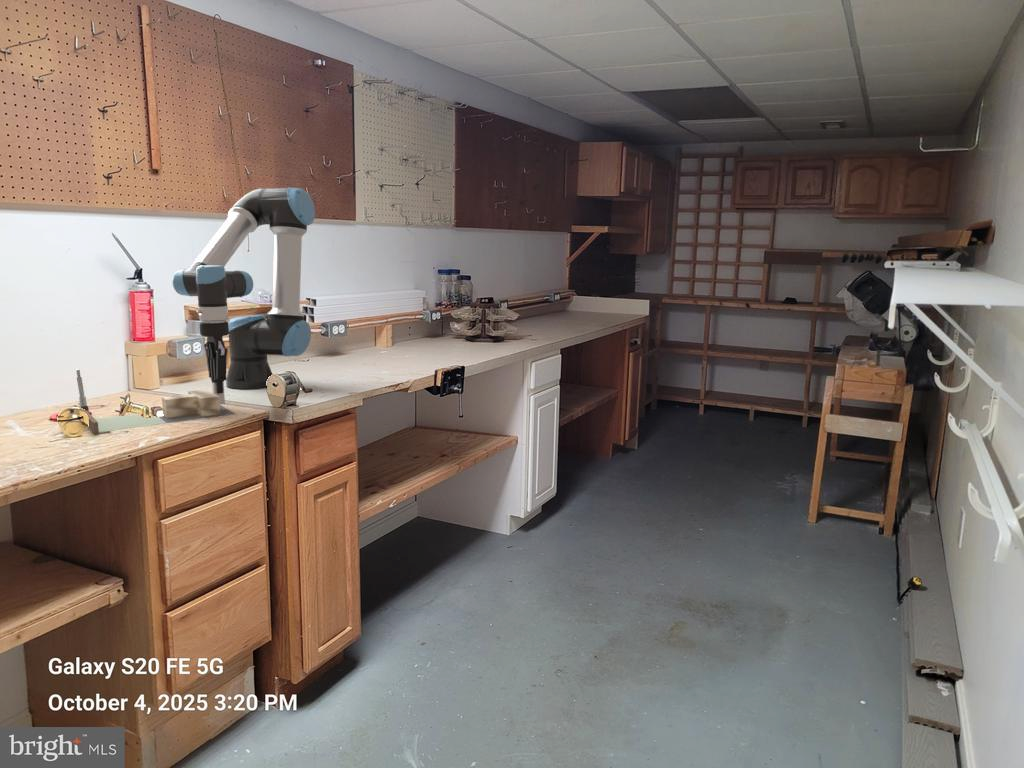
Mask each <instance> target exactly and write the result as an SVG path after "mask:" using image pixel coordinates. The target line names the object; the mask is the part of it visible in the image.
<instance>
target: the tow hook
mask: <svg viewBox="0 0 1024 768" xmlns="http://www.w3.org/2000/svg"><path fill="white" fill-rule="evenodd" d="M76 381H77V389H78V394H79V397H78V400H79V408H80V407H81V408H83V409H85V410H87V411H88V412H89V414H90V415H91V416H92V412H91V411H90V408H89V406H88V403H87V397H86V395H85V391H84V390H85V389H84V385H83V384H84V383H83V377H82V376H81V370H80V369H77V368H76ZM59 413H60V412H56V413H53V414H51V415H50V416H49V420H50V421H52V420H54V421H53V422H58V421H57V418H58V417H57V416H58V414H59Z"/></svg>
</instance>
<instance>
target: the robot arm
mask: <svg viewBox="0 0 1024 768" xmlns="http://www.w3.org/2000/svg"><path fill="white" fill-rule="evenodd" d="M315 217H316V211H315V205H314V202H313V199H312V197H311V195H310V193H308V191H306V189H304V188H300V187H292V186H289V187H259V188H256V189H254V190H252V191H249V192H247V193H246V194H245V195H243V196H242V197H241V198H240V199H239V200H238V201H237V202H235V204H234V205H233V206H231V208H230V209H229V210H228V212H227V218H226V220H225V221H224V222H223V224H222V225H221V227H220V228H219V229H218V230H217V232H216V233H215V234H214V235H213V237H212V238H211V240H210V241H209V242H208V243H207V245H206V246H205V248H204V249H203V250H202V251H201V253H200V254H199V255H198V256H197V258H196V259H195V260H194V262H193V263H192V265H190V266H189V268H188V269H179V270H177V271H176V272H175V273H174V274H173V276H172V287H173V289H174V291H175V292H176V293H177V294H178V295H181V296H186V297H197V302H198V303H197V304H198V307H197V308H198V309H197V310H196V313H197V314H198V318H199V321H201V322H199V324H198V325H199V334H200V336H201V337H207V338H206V342H205V343H204V344H203V347H204V351H205V355H206V365H207V371H208V377H209V378H210V380H211V385H212V386H211V387H212V393H214V394H216V395H218V396H220V405H225V404H226V399H225V398H226V397H225V385H226V387H227V388H230V389H239V390H241V389H242V390H247V389H248V390H250V389H251V390H252V389H260V388H261V389H263V388H266V387H265V386H266V381H267V379H268V377H269V376H271V375H273V376H274V374H273V372H272V369H271V367H270V364H269V362H268V356H279V357H299V356H301V355H303V354H304V353H305V352H306V350H307V349H308V347H309V345H310V343H311V338H312V337H311V336H312V329H311V328H310V327H311V326H310V324H309V322H308V321H306V320H305V315H304V314H303V313H302V311H301V310H300V307H301V306H300V303H301V273H302V272H301V271H302V270H301V269H302V247H303V245H302V244H303V243H302V242H303V241H302V240H303V236H304V235H305V234H306V233H308V226H310V225H312V224H313V223H314V220H315ZM263 225H264V226H265V225H269V230H270V231H271V232H272V234H273V265H272V266H273V267H272V268H273V269H272V295H271V297H272V298H271V299H272V300H271V302H272V303H271V304H272V305H271V309H270V310H269V311H268V312H267V313H266V315H265V314H252V315H245V316H238V317H233V318H230V319H229V310H228V309H229V307H228V306H229V305H228V299H231V298H242V297H245V296H248V295H250V294H251V293H252V291H253V288H254V280H253V277H252V276H251V275H250V273H249V272H247V271H244V270H233V271H232V270H226V268H225V267H226V265H227V264H228V262H229V261H230V260H231V258H233V255H234V254H235V252H236V251H238V249H239V247H240V246H241V244H242V243H243V242H244V240H245V239H246V238H247V236H248V235H249V234H250V233H253V232H255V231H256V230H257V229H258V228H259V227H261V226H263ZM227 320H229V321H227ZM224 336H228V343H229V344H228V345H229V359H230V364H229V366H228V370H227V364H228V363H227V357H228V348H227V347H226V345H225V344H226V343H225V342H224V339H223V337H224ZM224 383H225V385H224Z"/></svg>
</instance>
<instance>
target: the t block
mask: <svg viewBox="0 0 1024 768" xmlns="http://www.w3.org/2000/svg"><path fill="white" fill-rule="evenodd" d="M187 392H188V394H179V395H170V396H162V397H161V403H162V410H163V414H164V416H165V417H167V418H170V417H177V416H185V415H192V414H199V415H200V416H202V417H203V416H210V415H217V414H221V410H220V405H221V404H220V396H218V395H216V394H214V393H213V391H211V390H209V389H207V388H206V389H198V390H189V391H187Z"/></svg>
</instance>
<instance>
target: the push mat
mask: <svg viewBox="0 0 1024 768" xmlns="http://www.w3.org/2000/svg"><path fill="white" fill-rule="evenodd" d="M220 410H221V414H217V415H210V416H203V417H202V416H200V415H199V414H192V415H185V416H177V417H170V418H167V417H165V416H163V417H156V416H153V417H151V418H148V419H145V418H143V417H142V416H141V414H138V413H131V414H130V413H129V414H123V415H124V416H121V415H115V416H108V417H107V416H106V417H98V418H94V416H92V415H90V414H89V412H90V411H89V412H88V411H87V410H85V411H86V412H87V414H88V417H89V428H88V429H89V430H90V431H91V432H92V434H93V435H100V434H106V433H108V434H109V433H111V432H113V431H118V430H121V431H122V430H126V429H127V430H128V429H135V428H140V427H141V428H142V427H150V426H156V425H162V424H163V425H165V424H170V423H178V422H187V421H193V420H200V419H201V420H202V419H208V418H214V417H215V418H216V417H222V416H223V417H224V416H229V415H236V413H235V412H233V411H232V410H230V409H228V408H226V407H225V406H223V404H220Z"/></svg>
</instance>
